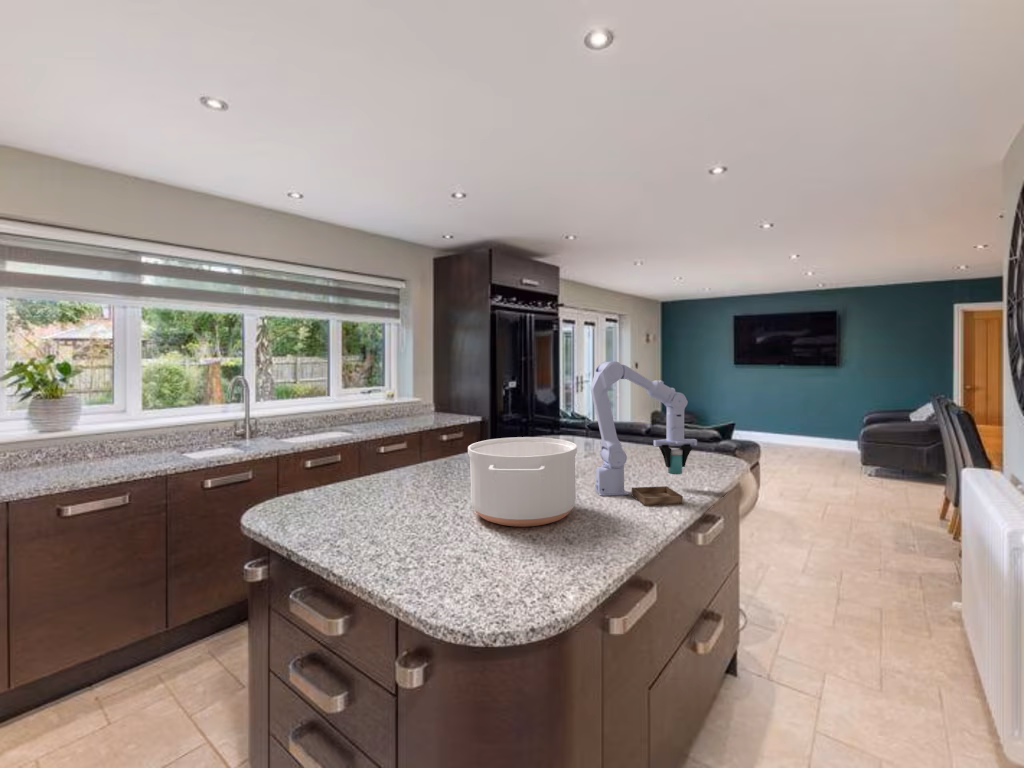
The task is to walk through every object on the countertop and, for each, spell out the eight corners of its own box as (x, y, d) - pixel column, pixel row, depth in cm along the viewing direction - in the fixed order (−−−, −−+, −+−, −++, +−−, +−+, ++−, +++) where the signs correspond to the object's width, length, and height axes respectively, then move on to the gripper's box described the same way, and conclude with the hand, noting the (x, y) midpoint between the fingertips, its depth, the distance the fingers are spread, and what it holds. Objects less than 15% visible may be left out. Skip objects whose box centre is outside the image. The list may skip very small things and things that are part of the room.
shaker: (671, 474, 164) (671, 451, 164) (665, 471, 169) (665, 448, 169) (685, 474, 165) (685, 450, 164) (679, 471, 169) (679, 448, 169)
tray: (644, 505, 149) (644, 497, 149) (631, 495, 161) (631, 487, 161) (682, 504, 150) (682, 496, 150) (667, 493, 162) (667, 486, 162)
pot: (580, 541, 121) (579, 461, 120) (454, 538, 125) (452, 460, 124) (576, 494, 162) (575, 434, 161) (481, 493, 166) (480, 434, 165)
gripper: (659, 429, 161) (659, 469, 162) (701, 428, 163) (701, 468, 163) (651, 426, 168) (651, 465, 169) (691, 425, 170) (691, 464, 170)
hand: (675, 466), depth 167 cm, fingers closed on shaker, 5 cm apart
